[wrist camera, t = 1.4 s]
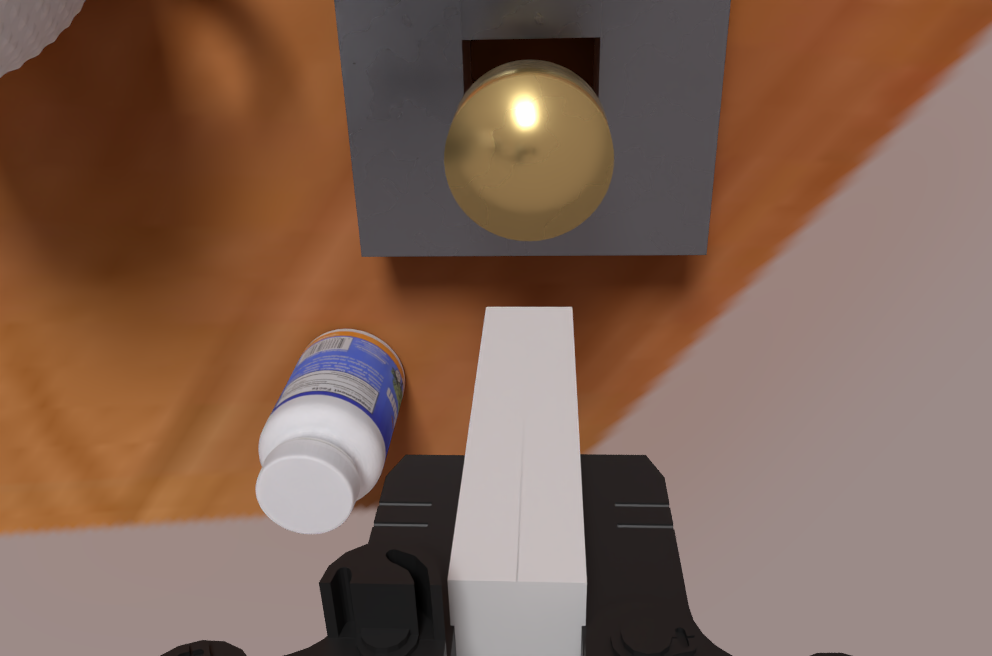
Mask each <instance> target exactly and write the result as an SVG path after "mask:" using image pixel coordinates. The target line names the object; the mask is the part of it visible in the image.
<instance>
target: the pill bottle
mask: <svg viewBox="0 0 992 656" xmlns="http://www.w3.org/2000/svg"><path fill="white" fill-rule="evenodd" d="M404 388H405V375H404V370H403V367H402V364H401V361H400V359H399V358H398V356H397V355H396V353H395V352H394V351H393V350H392V349H391V347H390V346H388V345H387V344H386V343H385V342H384V341H382V340H381V339H379V338H377V337H376V336H374V335H372V334H370V333H367V332H364V331H360V330H355V329H337V330H333V331H330V332H327V333H324V334H322V335H320V336H319V337H317V338H316V339H314V340H313V341H312V342H311V343H310V344H309V345H308V346H307V347H306V349H305V350H304V352H303V353H302V355H301V357H300V359H299V361H298V363H297V365H296V367H295V369H294V371H293V373H292V375H291V377H290V379H289V381H288V383H287V384H286V386H285V388H284V390H283V392H282V394H281V396H280V398H279V400H278V402H277V403H276V405H275V407H274V409H273V411H272V413H271V415H270V416H269V418H268V420H267V422H266V424H265V426H264V428H263V430H262V433H261V436H260V440H259V458H260V462H261V465H262V468H261V471H260V473H259V476H258V478H257V482H256V497H257V500H258V502H259V505H260V507H261V508H262V510H263V511H264V513H265V514H266V515H267V516H268V517H269V518H270V519H271V520H272V521H273V522H275V523H276V524H278V525H279V526H281V527H283V528H285V529H287V530H290V531H293V532H297V533H302V534H320V533H325V532H329V531H331V530H334V529H336V528H337V527H339V526H340V525H341V524H343V523H344V522H345V521H346V520H347V518H348V517H349V516H350V514H351V512H352V510H353V507H354V504H355V502H356V501H357V500H359V499H361V498H362V497H364V496H365V495H366V494H367V493H368V492H370V491H371V489H372V488H373V487H374V486H375V484H376V483H377V481H378V480H379V477H380V475H381V473H382V469H383V467H384V463H385V459H386V456H387V452H388V449H389V445H390V442H391V438H392V434H393V430H394V427H395V423H396V420H397V416H398V412H399V409H400V405H401V401H402V398H403V394H404Z"/></svg>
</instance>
